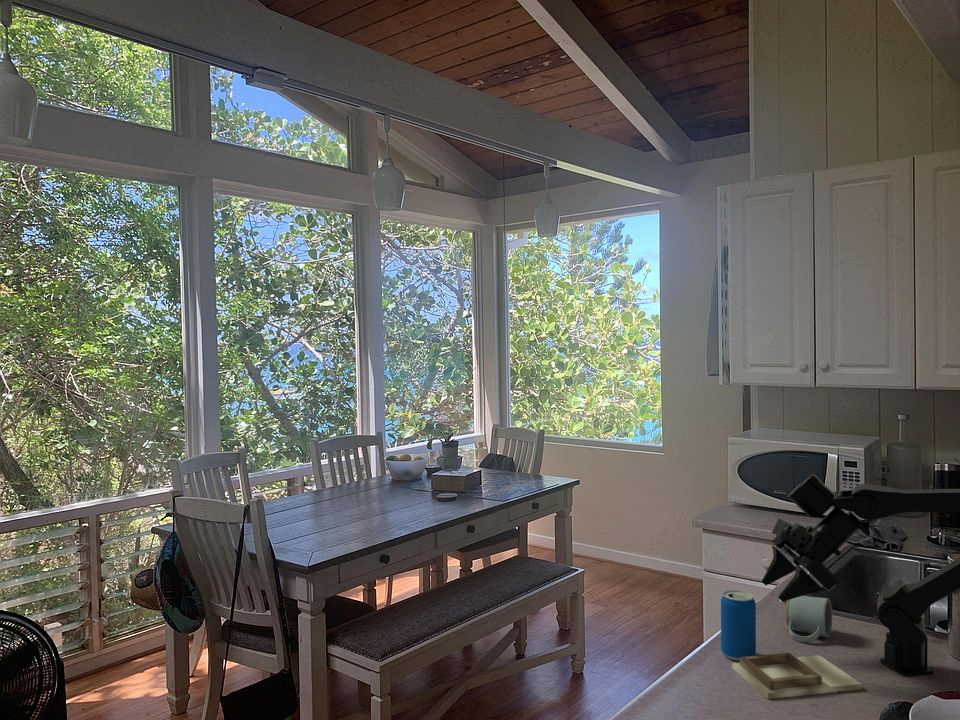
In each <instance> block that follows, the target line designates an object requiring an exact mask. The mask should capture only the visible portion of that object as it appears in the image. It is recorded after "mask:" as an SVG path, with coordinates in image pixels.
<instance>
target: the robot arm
mask: <svg viewBox="0 0 960 720" xmlns="http://www.w3.org/2000/svg"><path fill="white" fill-rule="evenodd" d="M787 498H788V499H790V500H791V502H792V503H793V504H794V505H796V507H798V508H799V509H800V510H802V512H803V513H805V514H806V516H808V517H809V518H811V517H813V518H817V519H820V518H821V517H823V515H824V514H826V513H827V512H828V511H829V510H830V508H832V509H831V511H829V512H828V513H827V515H825V516H824V517H823V518H822V519H821V520H820V521H819V522H818V523H817V524H816V525H815V526H814V527H813V526H811V525H807V526H806V527H805V526H804V525H801V524H799V523H797V522H796V523H795V524H792V523H790V522H788V521H785V520H784V519H781V518H777V520H776V523H775V525H774V527H773V529H772V532H771V534H773V535H775V536H776V537H774V538H773V539H772V541H771V543H772V546H771V549H772V554H773V557H772V560H771V562H770V564H769V566H768V568H767V571H765V574H764V576H763V578H762V579H761V583H762V584H764V586H768V585H770V584H772V583H775V582H776V581H778V580H780V579H782V578H784V577H786V576H788V575H789V574H791V573H793V572H795V575H794V576H793V577H792V579H791V580H790V581H789V582H788V584H787V585H786V586H785V587H784V588H783V590H782V591H781V593H780V594H779V595H778V597H777V598H778V599H779V600H780V601H781V603H783V602H787V600H790V599H793V598H797V597H800V596H807V595H810V594H814V593H819V592H822V593H823V592H824V591H825V589H826V590H827V591H828V592H831V591H832V590H833V589H834V588H835V587H836V586H837V584H838V582H837V579H838V578H837V576H836V575H835V574H833V573H832V572H831V571H830V570H829V569H828V567H826V565H825V563H827V561H828V560H829V559H831V557H832V556H834V555H835V556H837V557H839V556H840V555H841V554H842V552H841V551H840V549H841V548H842V547H843V546H844V544H846V543H847V542H848V541H849V540H850V539H851V538H852V537H853V536H854V535H855V534H856V533H857V532H858V533H860V534H861V535H862V536H864V537H870V536H871V531H870V524H871V523H870V521H863V520H875V519H876V520H877V519H881V518H889V517H891V516H895V515H899V514H905V513H960V488H938V489H936V488H933V489H931V488H928V489H899V488H893V487H890V486H885V485H880V484H879V485H878V484H870V483H861V484H859V485H856V486H855V487H854V488H853V489H847V490H837V491H834V492H833V491H832V490H831V489H830V488H829V487H828V486H827V485H825V483H823V481H822V480H821V479H820V478H819V476H817V475H816V474H814V473H813V474H811V475H810V476H809V477H807V478H806V479H805V480H804V481H803V482H802V481H801V482H800V483H799V484H798V485H796V487H795V488H793V490H792V491H791V492H790V493H789V494H788V495H787ZM861 519H862V520H861ZM959 590H960V557H957V558H956V559H955V560H952V561H951V562H949V563H947V564H946V565H944V566H942V567H940V568H939V569H938V570H937V569H936V571H934V572H932V573H931V574H929V575H926V576H925V577H924V578H922V579H920V580H919V581H916V582H911V583H907V584H905V583H904V580H903V579H902V578H898V580H896V581H895V582H894V583H893V584H891V585H890V586H886V587H882V591H881V592H882V593H880V595H879V596H878V598H877V603H876V605H877V606H876V607H877V608H876V609H877V611H876V612H877V616H878V620H879V621H880V623H881V624H882V625H883V626H884V627H885V628H887V629H888V631H889V632H888V631H887V632H886V633H885V641H884V644H883V646H884V647H883V648H884V649H883V651H884V652H883V653H884V654H883V655H884V656H883V657H882V658H879V661H880V663H881V664H883V665H886V666H887V667H888V668H890V669H891V670H894V671H895V672H897V673H898V674H900V675H902V676H908V677H909V676H917V675H927V674H934V673H935V669H933V668H932V667H930V666H928V658H929V657H928V647H929V646H928V642H929V641H928V640H929V639H928V638H929V637H928V636H927V634H926V626H925V621H924V618H923V615H925V613H926V612H927V611H928V610H929V608H930V607H931V606H932V605H934V604H935V603H937V602H939V601H941V600H942V599H944V598H946V597H947V596H949V595H952V594H953V593H955V592H956V591H959Z"/></svg>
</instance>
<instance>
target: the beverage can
mask: <svg viewBox="0 0 960 720" xmlns="http://www.w3.org/2000/svg"><path fill="white" fill-rule="evenodd" d="M756 605H757V604H756V601H755V599H754V595H753V594H752V593H750V592H747V591H743V590H735V589H734V590H733V589H731V590H726V591H724V592H723V593H722V596H721V598H720V652H722V654H723V655H724V656H725V655H726V656H725V657H726V658H728V659H730V660H732V661H737V662H740V657H748V656H757V625H756V624H757V620H756V619H757V613H756V611H757V610H756V609H757V606H756Z"/></svg>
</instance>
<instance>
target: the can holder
mask: <svg viewBox="0 0 960 720" xmlns="http://www.w3.org/2000/svg"><path fill="white" fill-rule="evenodd" d="M731 665H732V667H731V668H732V670H734V671H735V672H736V673H737V675H739V676H740V677H742V679H744V680H745V682H747V683H748V684H749V685H751V686H752V687H753V688H754V689H755V690H756V691H757V692H759V693H760V694H761V695H762V696H764V697H765V698H766V699H767V700H771V699H772V700H773V699H780V698H781V699H782V698H789V697H800V696H801V697H802V696H809V695H810V696H811V695H818V694H819V695H820V694H829V693H839V692H838V691H841V692H850V691H859V690H862V683H861V682H859V680H857V679H855V678H854V677H852V676H851V675H849V674H848V673H847V672H844V671H843V670H842V669H840V668H839V667H837V666H836V665H834V663H833V664H832V663H831V662H830V661H829V660H827V659H825V658H824V657H822V656H821V655H808V656H807V655H806V656H797V657H796V656H794V655H792V654H791V652H784V653H783V652H782V653H771V654H770V653H769V654H762V655H761V654H760V655H755V656H748V657H740V661H739V662H732V664H731Z"/></svg>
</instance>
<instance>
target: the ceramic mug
mask: <svg viewBox="0 0 960 720" xmlns="http://www.w3.org/2000/svg"><path fill="white" fill-rule="evenodd" d="M785 602H786V603H785V611H784V613H785V614H784V615H785V617H784V618H785V623H786V625H787V627H788V633H789V635H790V637H791V638H792V639H793V640H795V641H796V642H799V643H803V642H804V644H806V643H807V644H809V643H813V642H815V641H816V640H817V639H818V638H819V637H823V638H829V637H830V635H831V633H832V626H833V607H832V602H831V600H830V599H829V598H828V597H827V598H826V597H816V596H807V595H803V596H800V597H797V598H793V599H790V600H787V601H785ZM793 631H795V632H800V633H805V634H809V635H806V636H802V635H799V634H796V633H795V632H793Z"/></svg>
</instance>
